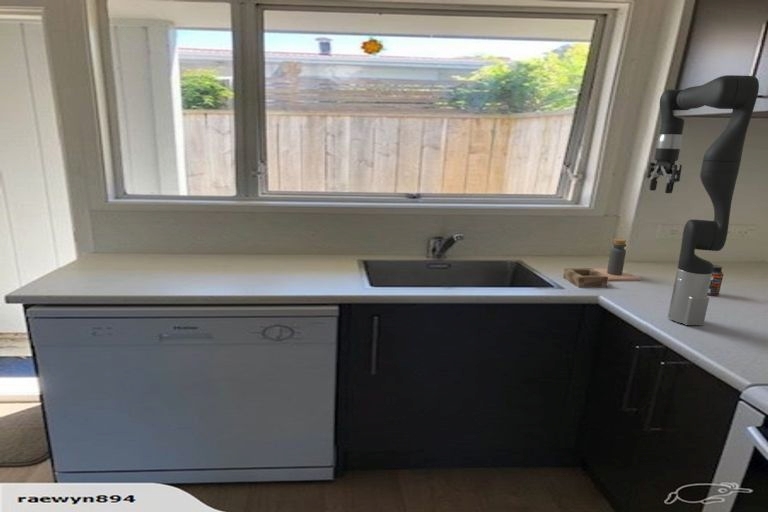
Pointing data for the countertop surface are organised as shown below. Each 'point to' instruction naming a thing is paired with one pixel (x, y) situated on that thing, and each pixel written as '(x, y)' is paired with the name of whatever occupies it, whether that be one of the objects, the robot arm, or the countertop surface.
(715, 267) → the supplement bottle
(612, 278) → the tile
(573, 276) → the pocket holder
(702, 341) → the countertop surface
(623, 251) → the bottle
